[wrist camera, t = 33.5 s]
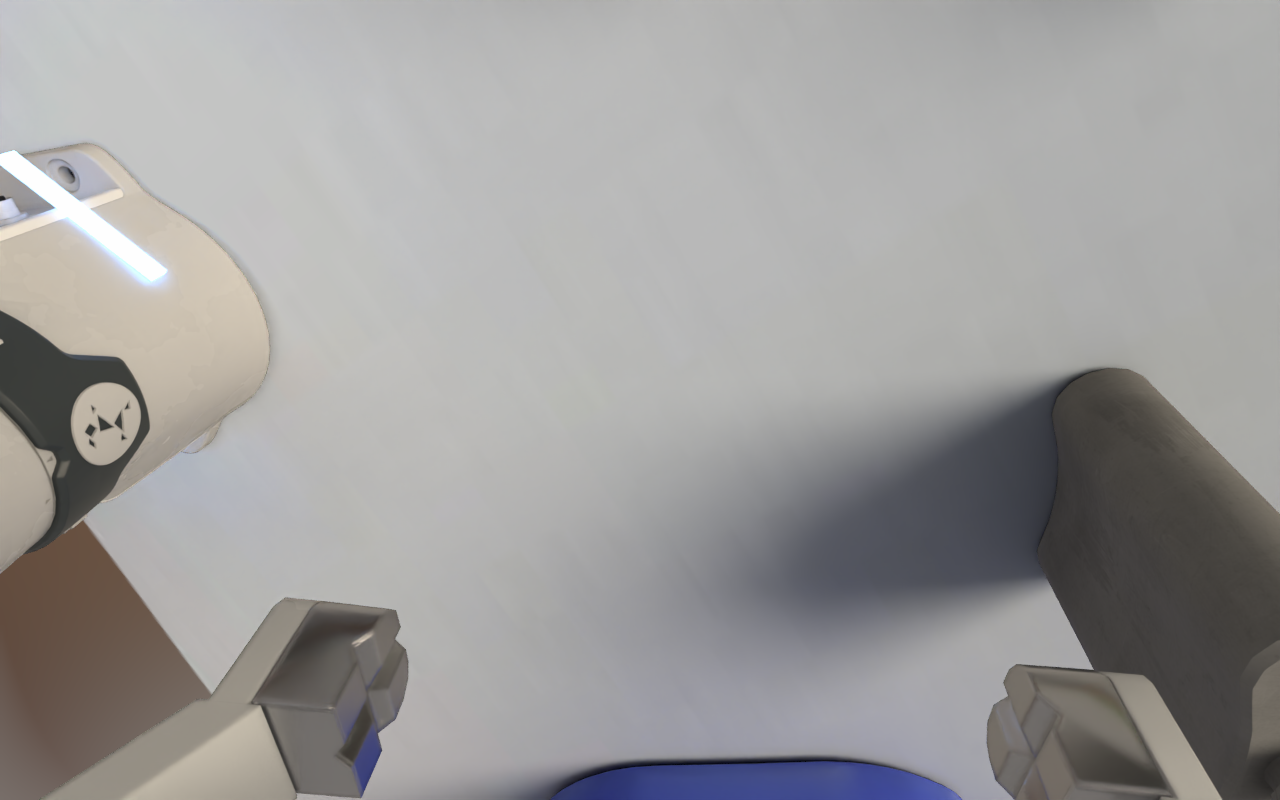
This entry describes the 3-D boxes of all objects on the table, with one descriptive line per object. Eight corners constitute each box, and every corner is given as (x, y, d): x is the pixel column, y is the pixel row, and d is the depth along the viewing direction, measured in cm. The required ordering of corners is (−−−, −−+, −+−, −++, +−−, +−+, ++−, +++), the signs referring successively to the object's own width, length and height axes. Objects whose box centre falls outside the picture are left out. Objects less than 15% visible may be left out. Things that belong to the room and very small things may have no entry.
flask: (1133, 570, 45) (1382, 945, 28) (1032, 576, 46) (1211, 941, 29) (1176, 358, 37) (1550, 692, 20) (1053, 371, 38) (1312, 699, 21)
